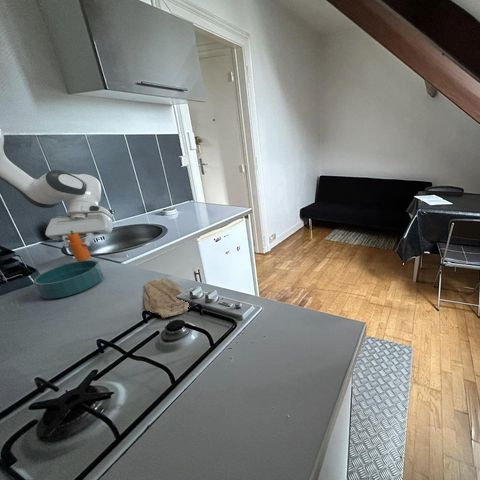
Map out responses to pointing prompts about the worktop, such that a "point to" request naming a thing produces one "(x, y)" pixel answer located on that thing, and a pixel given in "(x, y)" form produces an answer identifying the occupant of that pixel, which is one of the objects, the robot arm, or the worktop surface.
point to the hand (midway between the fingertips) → (77, 246)
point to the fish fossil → (164, 298)
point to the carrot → (78, 247)
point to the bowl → (68, 279)
